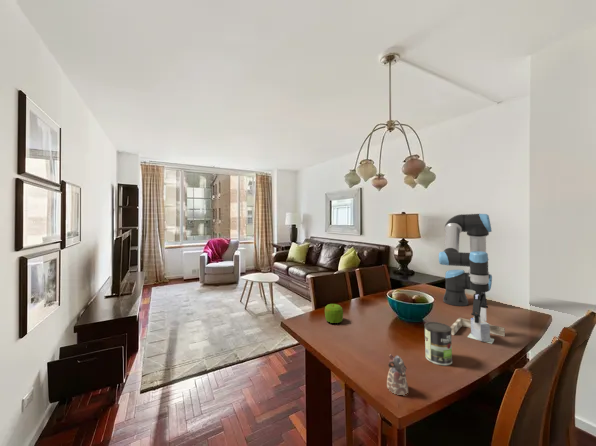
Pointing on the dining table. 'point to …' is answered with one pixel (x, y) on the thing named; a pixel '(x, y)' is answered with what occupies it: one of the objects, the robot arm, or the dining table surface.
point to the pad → (479, 340)
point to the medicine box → (481, 331)
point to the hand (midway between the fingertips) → (480, 324)
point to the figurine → (397, 376)
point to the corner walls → (467, 323)
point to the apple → (333, 313)
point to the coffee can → (438, 343)
